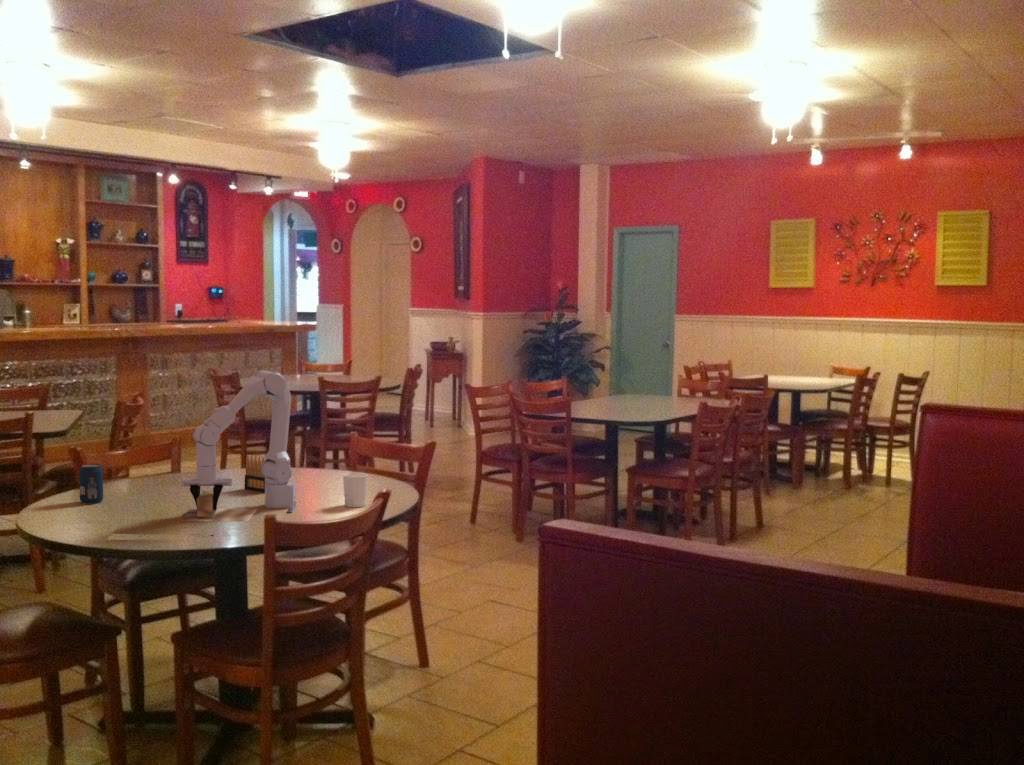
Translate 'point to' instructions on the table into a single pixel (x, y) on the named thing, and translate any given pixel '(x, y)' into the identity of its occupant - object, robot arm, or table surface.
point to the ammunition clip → (254, 475)
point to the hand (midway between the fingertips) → (206, 509)
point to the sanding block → (205, 505)
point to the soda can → (91, 483)
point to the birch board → (229, 515)
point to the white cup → (355, 489)
